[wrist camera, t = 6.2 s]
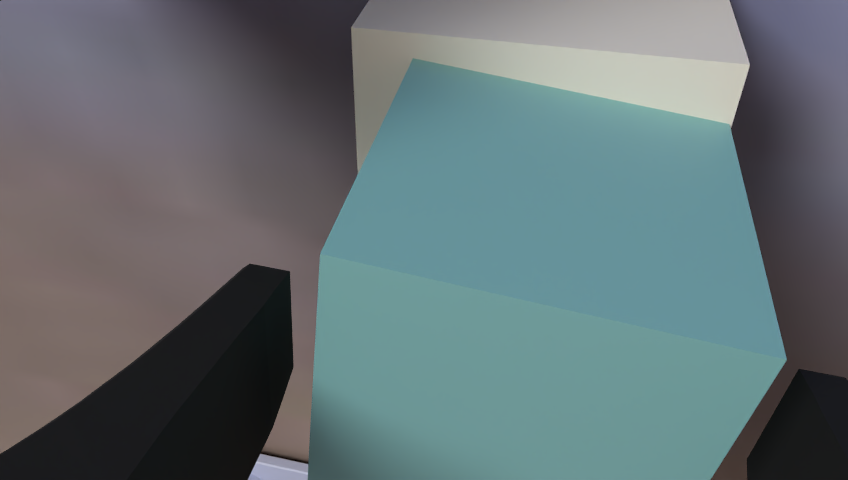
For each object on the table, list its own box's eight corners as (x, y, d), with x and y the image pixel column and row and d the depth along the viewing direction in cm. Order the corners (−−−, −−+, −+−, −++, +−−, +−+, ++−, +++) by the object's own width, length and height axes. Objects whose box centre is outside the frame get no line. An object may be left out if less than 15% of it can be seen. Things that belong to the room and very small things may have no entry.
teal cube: (632, 344, 15) (639, 590, 11) (383, 287, 15) (306, 507, 11) (729, 123, 12) (786, 358, 8) (413, 57, 12) (320, 253, 8)
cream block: (655, 228, 18) (663, 351, 15) (404, 197, 19) (363, 306, 16) (720, -28, 14) (750, 64, 11) (404, -53, 15) (351, 27, 12)
